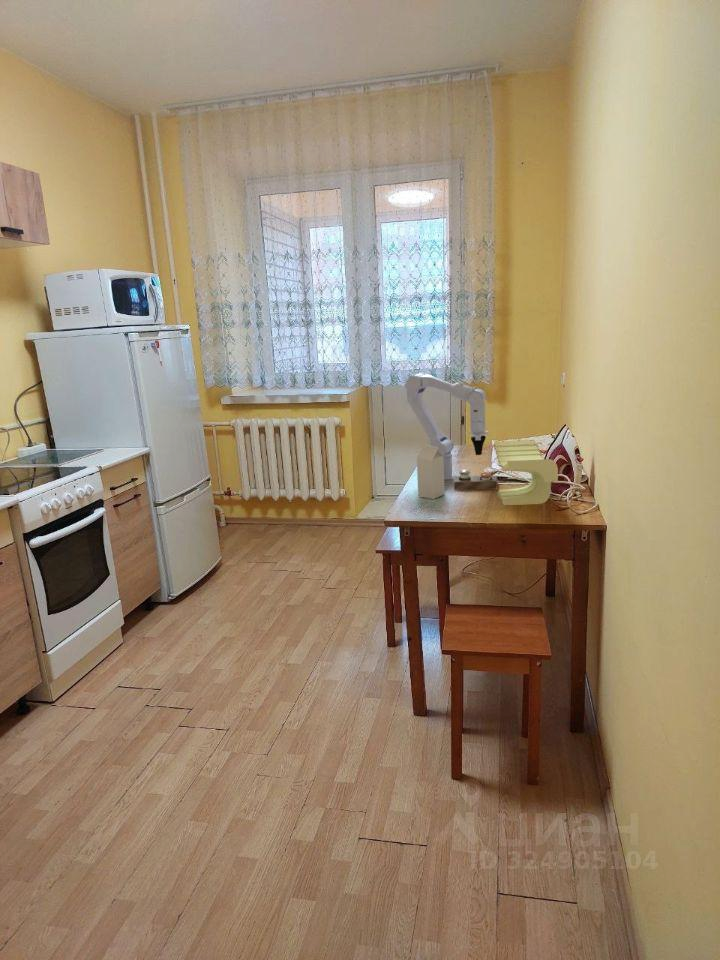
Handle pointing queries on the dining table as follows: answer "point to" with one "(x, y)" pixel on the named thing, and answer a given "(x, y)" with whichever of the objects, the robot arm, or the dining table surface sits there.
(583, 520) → the dining table surface
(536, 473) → the slatted curved stool
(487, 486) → the console
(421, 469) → the milk carton
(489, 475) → the copper push button
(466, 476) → the grey plunger
